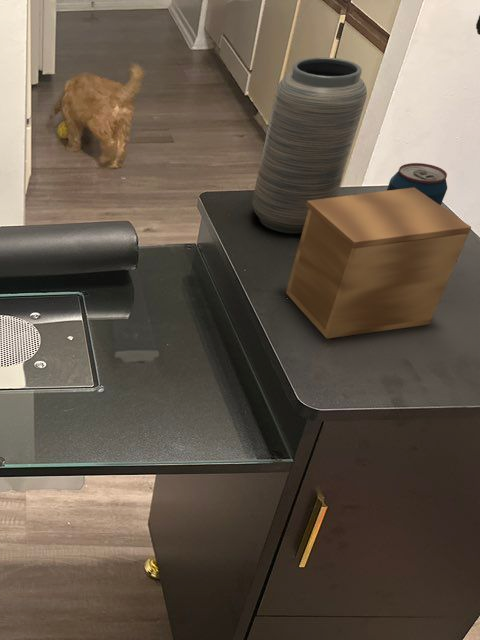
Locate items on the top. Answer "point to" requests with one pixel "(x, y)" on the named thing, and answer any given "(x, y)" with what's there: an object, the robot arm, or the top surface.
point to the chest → (369, 280)
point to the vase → (308, 140)
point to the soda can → (421, 180)
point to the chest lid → (386, 217)
